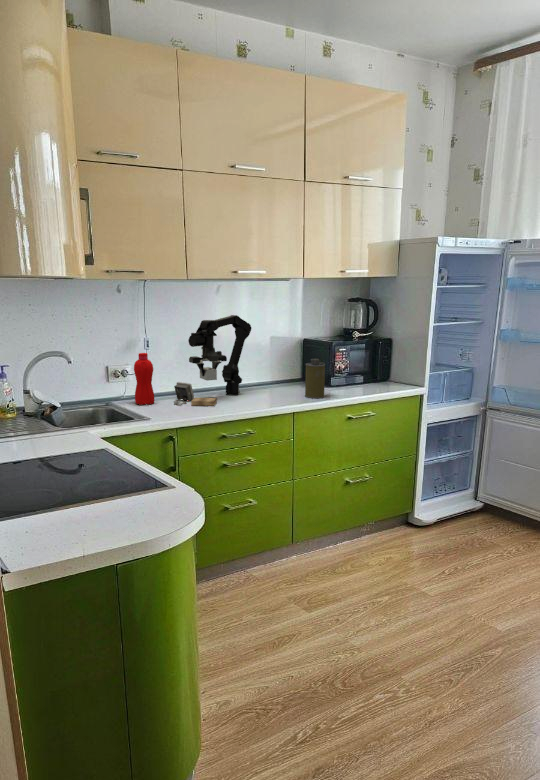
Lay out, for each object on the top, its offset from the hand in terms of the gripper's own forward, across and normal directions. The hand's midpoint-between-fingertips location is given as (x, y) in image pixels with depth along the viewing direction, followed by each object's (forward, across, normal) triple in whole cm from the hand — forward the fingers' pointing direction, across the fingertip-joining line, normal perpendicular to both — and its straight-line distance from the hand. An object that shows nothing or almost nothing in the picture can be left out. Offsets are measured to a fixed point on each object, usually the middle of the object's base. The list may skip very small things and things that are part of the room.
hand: (208, 375), depth 281 cm
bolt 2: (+12, -16, -5) cm, 21 cm away
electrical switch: (+12, -12, +3) cm, 17 cm away
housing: (+2, 0, 0) cm, 2 cm away
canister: (+12, +52, -21) cm, 57 cm away
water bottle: (+12, -32, +6) cm, 35 cm away
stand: (+12, -7, -11) cm, 18 cm away
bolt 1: (+12, -19, -7) cm, 23 cm away
